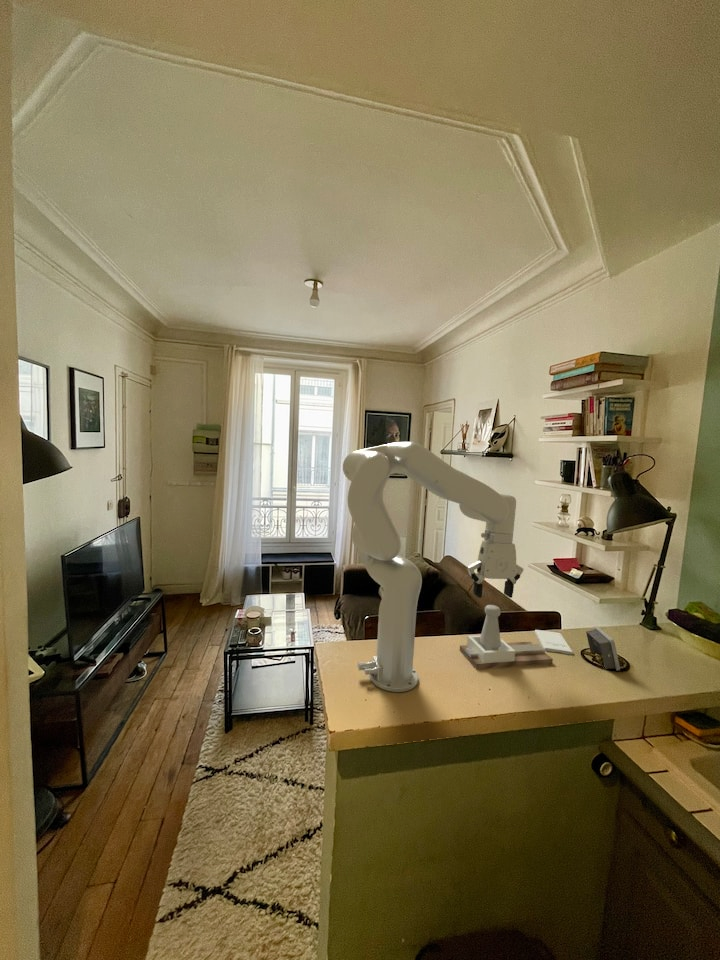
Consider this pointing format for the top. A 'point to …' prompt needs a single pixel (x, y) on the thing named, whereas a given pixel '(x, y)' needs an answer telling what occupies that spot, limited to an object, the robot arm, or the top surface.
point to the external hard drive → (553, 642)
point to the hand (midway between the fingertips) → (492, 596)
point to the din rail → (518, 649)
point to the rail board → (519, 661)
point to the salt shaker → (491, 629)
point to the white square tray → (491, 651)
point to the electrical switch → (603, 647)
